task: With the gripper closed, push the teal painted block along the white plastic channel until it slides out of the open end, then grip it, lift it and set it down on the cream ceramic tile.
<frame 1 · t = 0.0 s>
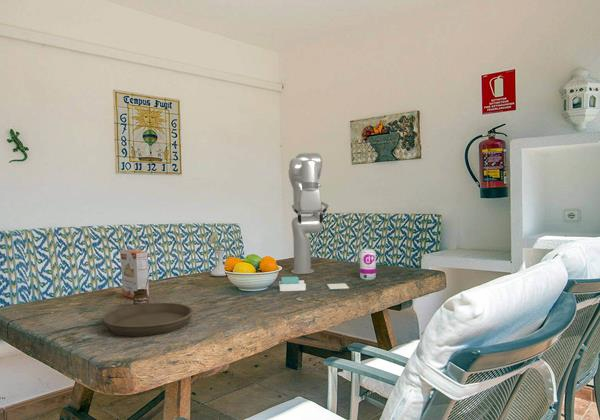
hand: (310, 223, 226), 31 cm above the table, tool pointing down, fingers open, 9 cm apart
teal block: (290, 289, 229), on the table
channel: (292, 288, 229), on the table
tile: (337, 286, 232), on the table
flower in vase: (219, 276, 266), on the table
cracker box: (135, 297, 217), on the table
plant saucer: (149, 325, 172), on the table
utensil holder: (141, 307, 198), on the table
supplement can: (367, 278, 252), on the table
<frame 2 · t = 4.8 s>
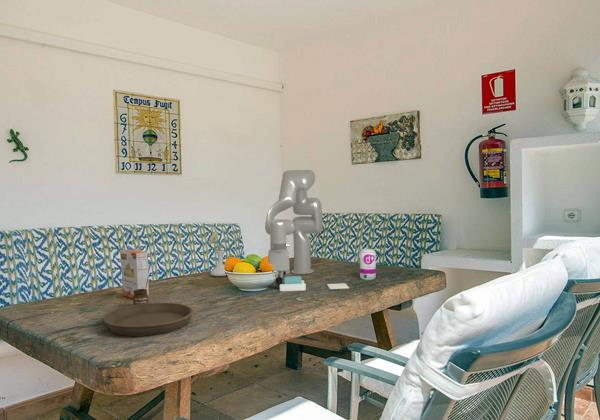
hand: (279, 285, 228), 2 cm above the table, tool pointing down, fingers closed
teal block: (292, 288, 229), on the table, touching gripper
everything else where it was.
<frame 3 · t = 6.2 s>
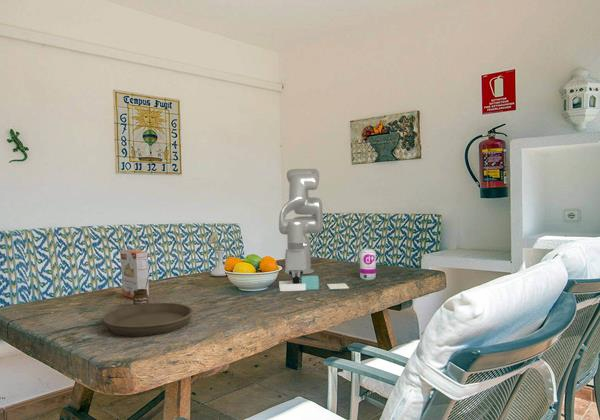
hand: (296, 285, 229), 2 cm above the table, tool pointing down, fingers closed
teal block: (309, 288, 230), on the table, touching gripper
everything else where it was.
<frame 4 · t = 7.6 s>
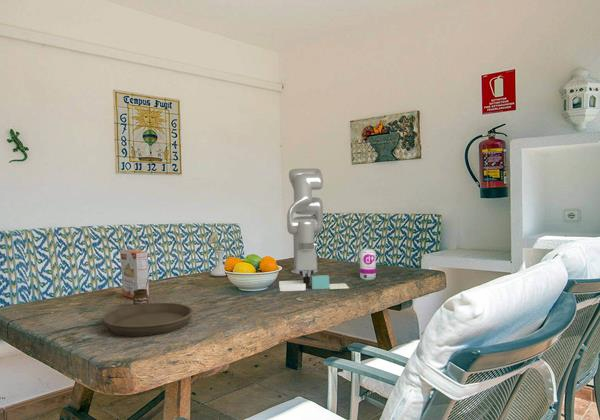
hand: (306, 284, 230), 2 cm above the table, tool pointing down, fingers closed
teal block: (320, 287, 230), on the table, touching gripper
everything else where it was.
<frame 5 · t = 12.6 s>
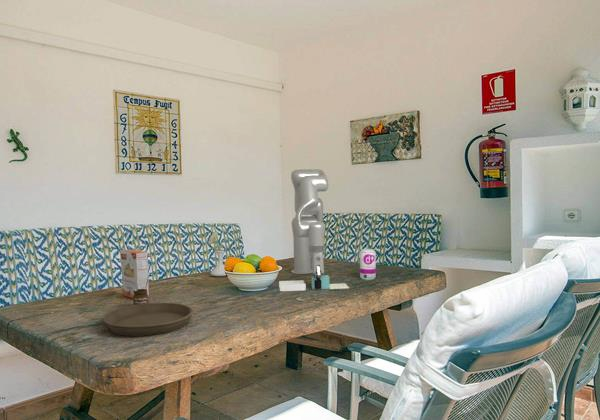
hand: (317, 286, 230), 0 cm above the table, tool pointing down, fingers closed on teal block, 5 cm apart
teal block: (320, 287, 230), on the table, touching gripper
everything else where it was.
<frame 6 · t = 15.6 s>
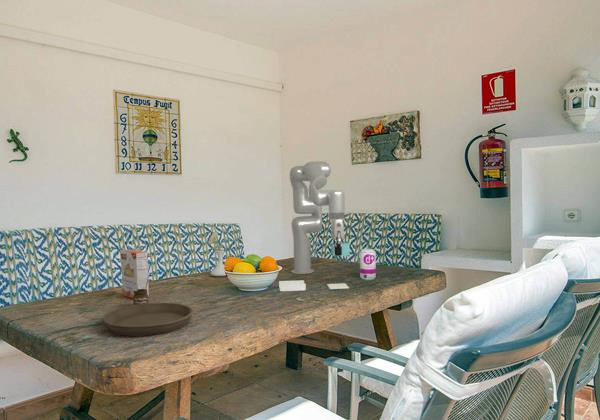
hand: (337, 253, 231), 16 cm above the table, tool pointing down, fingers closed on teal block, 5 cm apart
teal block: (340, 254, 231), point 15 cm above the table, touching gripper
everything else where it was.
when the fingers open (2 cm above the table, at t = 18.3 s): teal block stays where it is, resting on tile.
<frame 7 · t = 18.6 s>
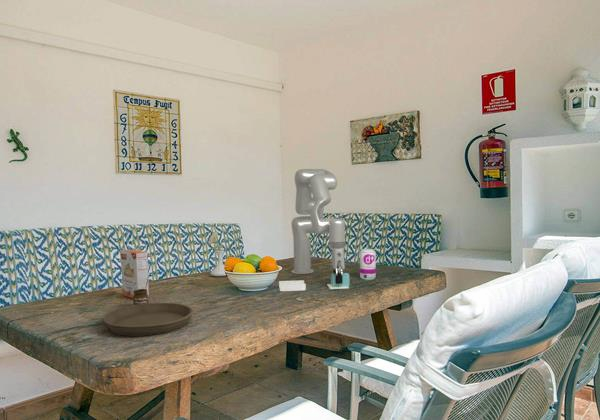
hand: (337, 281, 232), 2 cm above the table, tool pointing down, fingers open, 7 cm apart
teal block: (340, 285, 232), point 1 cm above the table, touching tile
everything else where it was.
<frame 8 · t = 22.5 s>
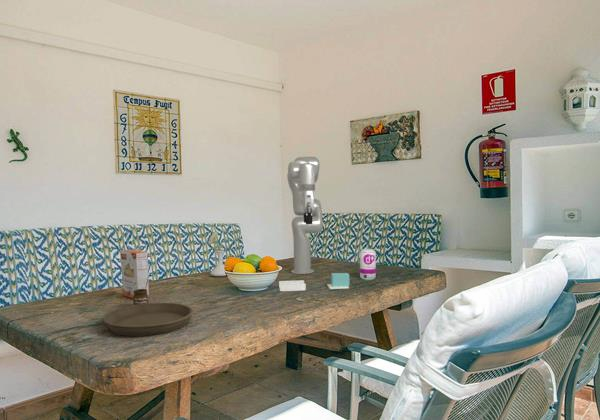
hand: (308, 223, 237), 30 cm above the table, tool pointing down, fingers open, 9 cm apart
nothing on the table moved.
at the end: teal block inside the target area on the tile (1.2 cm from its centre), point 0.6 cm above the tile's base; teal block tilted 0°; the gripper is holding nothing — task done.
